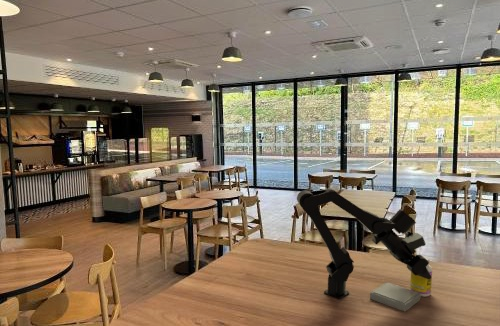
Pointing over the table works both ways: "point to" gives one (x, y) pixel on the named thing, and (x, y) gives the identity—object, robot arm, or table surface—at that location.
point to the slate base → (395, 296)
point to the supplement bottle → (422, 282)
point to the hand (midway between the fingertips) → (423, 273)
